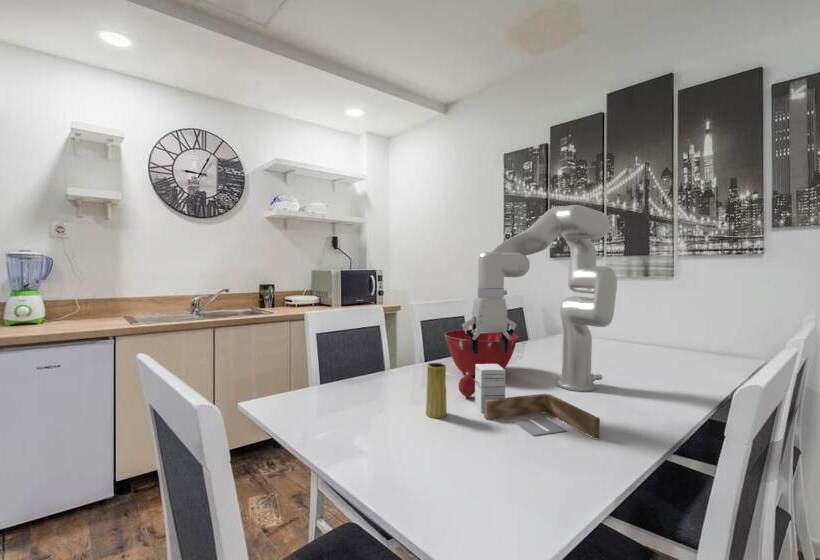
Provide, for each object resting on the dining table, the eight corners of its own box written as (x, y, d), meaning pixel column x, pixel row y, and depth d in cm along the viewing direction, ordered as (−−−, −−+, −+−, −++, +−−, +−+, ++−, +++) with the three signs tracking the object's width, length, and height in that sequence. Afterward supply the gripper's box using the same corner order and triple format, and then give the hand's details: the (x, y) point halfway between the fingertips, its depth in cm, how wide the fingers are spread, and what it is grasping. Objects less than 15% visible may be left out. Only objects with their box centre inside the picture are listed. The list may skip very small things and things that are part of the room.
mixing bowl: (465, 361, 183) (465, 326, 182) (528, 371, 166) (529, 332, 166) (430, 374, 160) (430, 335, 159) (499, 388, 143) (500, 343, 143)
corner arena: (547, 410, 122) (547, 393, 122) (599, 438, 102) (599, 418, 102) (484, 417, 116) (484, 400, 115) (526, 449, 96) (526, 428, 96)
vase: (432, 419, 114) (432, 368, 113) (421, 412, 119) (421, 363, 119) (451, 416, 117) (451, 366, 116) (439, 409, 122) (440, 361, 122)
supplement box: (474, 404, 126) (474, 363, 126) (498, 403, 127) (498, 363, 127) (480, 413, 119) (480, 369, 119) (505, 412, 120) (506, 369, 119)
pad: (543, 417, 116) (543, 416, 116) (567, 431, 106) (567, 430, 106) (512, 421, 113) (512, 420, 113) (533, 436, 103) (533, 434, 103)
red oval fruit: (476, 401, 130) (476, 375, 129) (457, 399, 131) (457, 374, 130) (476, 395, 135) (477, 371, 135) (459, 394, 136) (459, 370, 136)
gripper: (509, 293, 128) (508, 348, 128) (458, 293, 123) (456, 350, 123) (523, 295, 121) (521, 353, 121) (469, 295, 115) (467, 356, 116)
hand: (488, 351), depth 122 cm, fingers open, 9 cm apart
